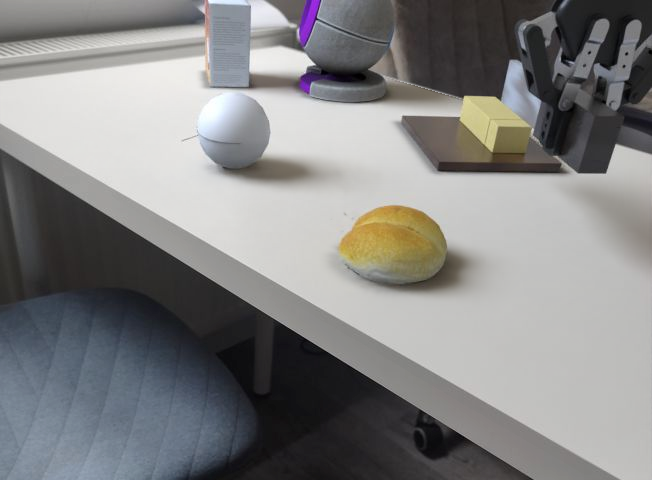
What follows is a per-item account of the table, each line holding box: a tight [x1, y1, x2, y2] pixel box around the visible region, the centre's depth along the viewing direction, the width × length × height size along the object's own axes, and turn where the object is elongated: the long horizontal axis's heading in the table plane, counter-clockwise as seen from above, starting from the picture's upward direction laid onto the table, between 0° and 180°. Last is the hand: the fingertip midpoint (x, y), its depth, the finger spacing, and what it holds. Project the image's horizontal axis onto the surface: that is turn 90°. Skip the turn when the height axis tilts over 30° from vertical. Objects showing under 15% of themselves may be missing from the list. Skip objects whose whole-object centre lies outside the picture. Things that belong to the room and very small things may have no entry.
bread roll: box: [338, 204, 448, 285], centre depth 56 cm, size 8×9×4 cm
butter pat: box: [485, 119, 533, 153], centre depth 78 cm, size 4×2×3 cm, turn 98°
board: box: [400, 115, 563, 173], centre depth 82 cm, size 14×16×1 cm
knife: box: [500, 59, 625, 175], centre depth 61 cm, size 19×2×4 cm, turn 8°
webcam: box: [298, 0, 396, 103], centre depth 94 cm, size 13×13×15 cm
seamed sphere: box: [180, 91, 272, 170], centre depth 69 cm, size 10×7×7 cm
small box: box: [204, 0, 252, 88], centre depth 96 cm, size 8×6×10 cm
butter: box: [459, 95, 523, 145], centre depth 82 cm, size 4×9×3 cm, turn 8°
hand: (567, 152), depth 58 cm, fingers closed on knife, 2 cm apart
